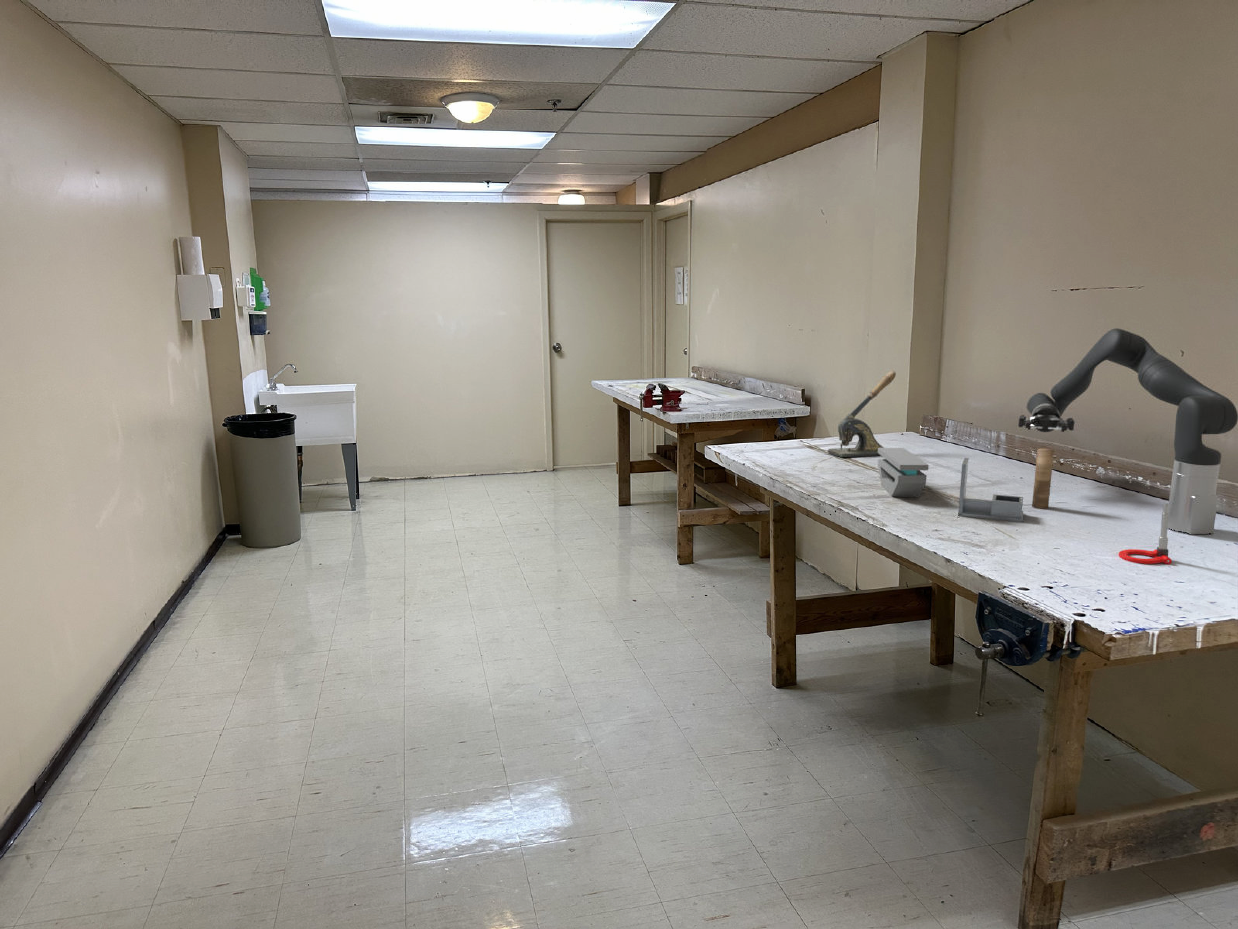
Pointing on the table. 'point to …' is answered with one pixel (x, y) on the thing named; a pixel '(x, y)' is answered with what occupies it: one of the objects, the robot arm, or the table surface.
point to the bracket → (989, 503)
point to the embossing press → (860, 427)
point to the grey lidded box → (901, 472)
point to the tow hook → (1158, 553)
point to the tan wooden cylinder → (1042, 478)
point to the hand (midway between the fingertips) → (1046, 427)
